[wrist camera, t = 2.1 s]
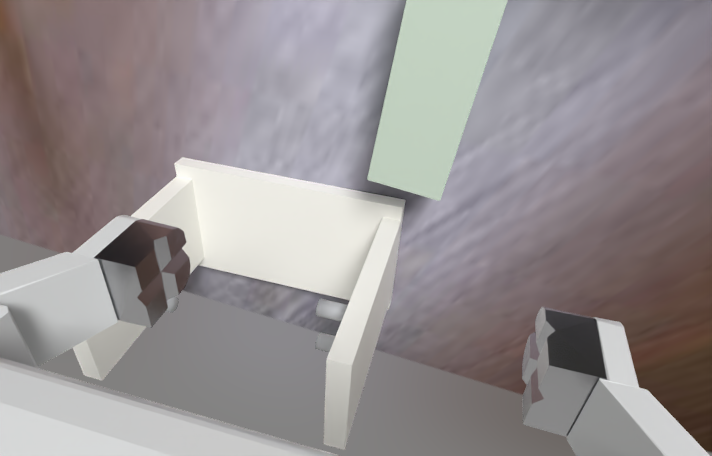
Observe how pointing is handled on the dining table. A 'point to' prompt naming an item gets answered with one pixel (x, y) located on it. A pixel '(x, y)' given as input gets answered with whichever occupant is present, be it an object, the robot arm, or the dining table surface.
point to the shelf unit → (283, 262)
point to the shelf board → (432, 91)
